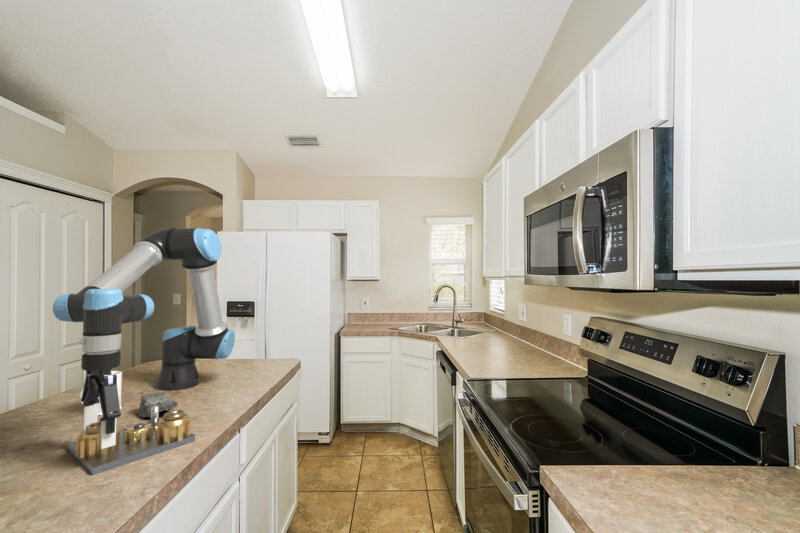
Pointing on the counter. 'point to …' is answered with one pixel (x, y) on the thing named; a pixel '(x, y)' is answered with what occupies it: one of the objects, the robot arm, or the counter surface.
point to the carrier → (142, 440)
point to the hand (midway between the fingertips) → (98, 438)
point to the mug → (119, 387)
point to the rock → (155, 403)
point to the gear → (93, 442)
